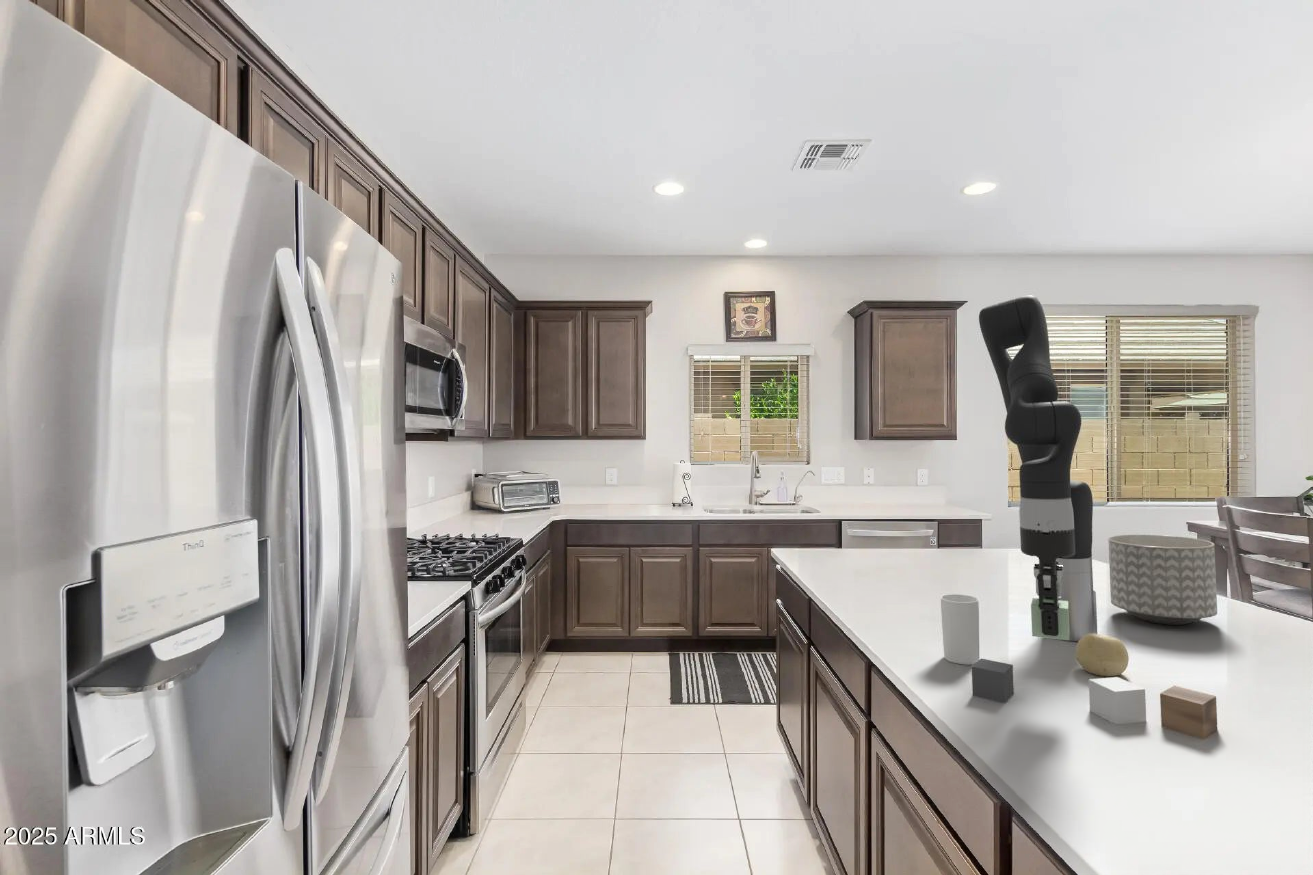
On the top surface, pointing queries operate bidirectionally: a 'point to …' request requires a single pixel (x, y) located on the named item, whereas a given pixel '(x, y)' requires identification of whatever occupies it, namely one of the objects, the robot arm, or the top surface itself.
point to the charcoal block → (992, 680)
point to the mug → (960, 628)
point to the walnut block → (1188, 712)
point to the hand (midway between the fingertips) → (1050, 629)
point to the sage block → (1062, 620)
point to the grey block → (1117, 700)
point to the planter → (1163, 577)
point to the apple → (1102, 655)
